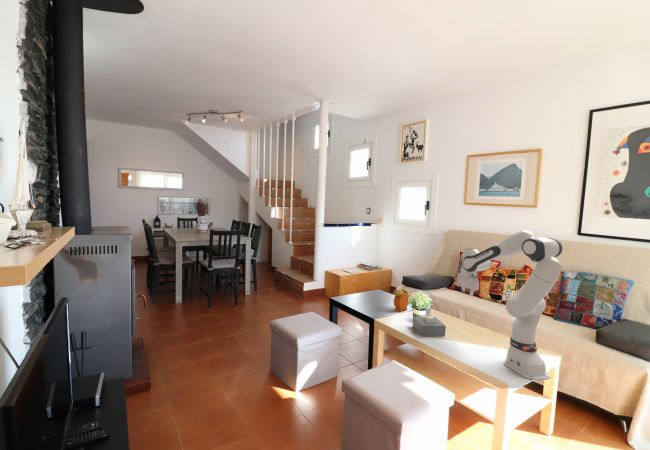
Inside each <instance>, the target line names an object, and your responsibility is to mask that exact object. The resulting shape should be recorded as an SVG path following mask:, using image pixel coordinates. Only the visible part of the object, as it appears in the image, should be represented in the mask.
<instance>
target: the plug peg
mask: <svg viewBox="0 0 650 450" xmlns="http://www.w3.org/2000/svg"><path fill="white" fill-rule="evenodd" d="M433 317H434V316H432V315H430V316H428V315H427V316H425V322H426V323H434V318H433Z"/></svg>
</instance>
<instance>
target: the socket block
mask: <svg viewBox="0 0 650 450" xmlns="http://www.w3.org/2000/svg"><path fill="white" fill-rule="evenodd" d="M432 317H433V318H434V323H426V322H425V317H417V316H413V319H412V320H413V321H412V327H413V329H414V330H415V331H416V332H417V333H418V334H419V335H420V336H421V337H446V330H447V329H446V325H445V324H444V323H443V322H442V321H441V320H440V319H438V318H437V316H432Z"/></svg>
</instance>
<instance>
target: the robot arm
mask: <svg viewBox="0 0 650 450" xmlns="http://www.w3.org/2000/svg"><path fill="white" fill-rule="evenodd" d="M522 253H523V254H524V255H525V256H527V257H528V259H530V261H531V262H535V263H536V264H535V267H534V268H533V270H532V272H531V274H530V275H529V276H528V278H527V279H526V282H525V283H524V284H523V285H522V286H521V287H520V288H519V290H518V291H516V292H515V293H514V295H513V296H512V297H511V298H509V299H508V300H507V301H506V303H505V309H506V311H507V313H508V314H509V315H510V316H511V317H514V318H515V320H514V321H513V322H512V324H511V325H512V327H511V336H510V338H509V348H508V349H507V354H506V357H505V361H504V362H503V365H504V366H506V367H508V368H509V369H511V370H512V371H513V372H515V373H517V374H519V375H520V376H522V377H523V378H525V379H529V380H535V381H545V380H547V381H548V380H550V379H552V378H551V377H552V376H551V375H550V374H549V373H548V372H547V371H546V369H547V368H546V363H545V360H544V359H542V357H541V356H540V354H539V353H538V349H539V346H537V344H536V335H537V334H536V333H537V327H538V324H539V321H540V319H541V316H542V314H543V312H544V311H545V309H546V307H547V303H546V300H545V299H544V298H545V297H547V296H548V295H549V293H550V292H551V291H552V289H553V287H554V286H555V284H556V282H557V281H558V279H559V277H560V275H561V273H562V270H563V263H562V261H560V259H558V258H557V257H559V256H560V255H561V254H562V253H563V245H562V243H561V242H560V240H558V239H555V238H552V237H541V236H539V237H538V236H537V237H536V236H535V234H534V233H533V232H532V231H530V230H529V229H528V230H527V229H523V230H520V231H518V232H515V233H513V234H511V235H509V236H507V237H505V238H504V239H502V240H501V241H499V242H497V243H496V244H493V245H492V246H490V247H488V248H486V249H484V250H482V251H479V250H478V249H477V248H474V247H473V248H465V249H464V250H463V252H462V256H461V257H462V258H461V259H462V260H461V263H462V266H461V268H460V269H457V283H458V284H460V286H461V292H462V293H465V292H466V291H467V290H466V288H468V289H470V291H469V294H468V295H469V296H470V297H473V296H474V293H475V291H479V288H480V283H479V278H478V277H477V272H482V271H488V270H489V269H490V268H491V267H492V266H491V265H492V261H491V260H494V259H503V258H504V259H505V258H512V257H515V256H518V255H520V254H522Z"/></svg>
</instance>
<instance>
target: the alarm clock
mask: <svg viewBox="0 0 650 450" xmlns="http://www.w3.org/2000/svg"><path fill="white" fill-rule="evenodd" d="M401 287H402V285H401V286H399V288H401ZM403 287H404V288H402V289H397V290H396V291H395V294H394V298H393V306H394V307H395V308H394V312H398V313H403V311H408V306H409V303H408V298H409V299H410V297H409V291H408V290H407V288H405V287H406V286H405V285H403Z"/></svg>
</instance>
